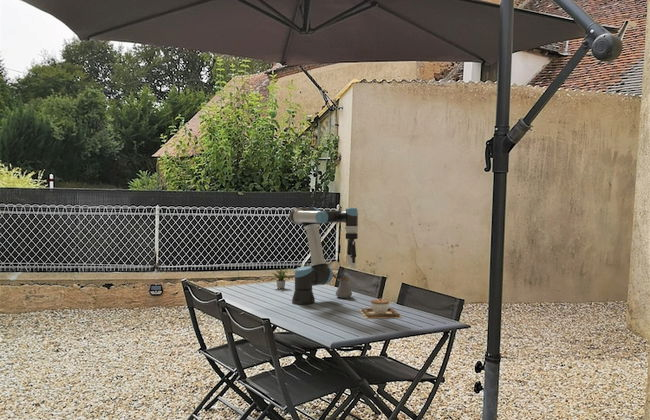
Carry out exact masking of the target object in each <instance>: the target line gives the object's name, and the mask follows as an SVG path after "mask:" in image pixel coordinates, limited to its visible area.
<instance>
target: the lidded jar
mask: <svg viewBox="0 0 650 420" xmlns="http://www.w3.org/2000/svg"><path fill="white" fill-rule="evenodd" d="M370 303H371V308H372V310H373V312H374V313H375V314H385V313H386V312H387V311H388V308H390V300H388V299H384V298H383V299H382V298H381V297H379V298H376V299H372V300H371V301H370Z"/></svg>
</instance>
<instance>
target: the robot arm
mask: <svg viewBox="0 0 650 420" xmlns="http://www.w3.org/2000/svg"><path fill="white" fill-rule="evenodd" d="M358 212H359V210H358V208H357V207H347V208H345V210H342V209H340V210H339V209H338V210H320V209H319V208H318V207H311V206H310V207H295V208H293V209H292V210H291V211H290V212H289V214H288V215H289V216H288V217H289V220H290V221H291V223H293V224H294V225H300V226H301V225H302V227H303V229H304V230H305V232H306V236H307V243H308V248H309V253H310V258H311V259H310V260H311V265H309V266H308V265H307V266H306V265H305V266H299V267H297V268H296V269H295V270H294V292H293V295H292V297H291V298H292V299H291V303H292V304H294V305H313V304H315V303H316V298H315V295H314V293H313V286H321V285H322V286H323V285H328V284H330V283H331V282H332V280H333V277H334V276H333V275H334V274H333V269H332V268H331V267H330V266H328V263H327V262H326V261H325V255H324V253H323V251H324V250H323V246H322V240H321V234H320V230H319V227H320V226H321V224H331V223H332V224H333V223H334V224H337V223H345V226H344V229H345V240H347V250H346V254H347V266H350V268H351V269H356V266H357V265H356V260H357V259H356V257H357V250H356V241H355V240H357V239H358V236H359V235H358V232H359V231H358V230H359V226H358V225H359V224H358V223H359V222H358V219H359V217H358V216H359V213H358Z"/></svg>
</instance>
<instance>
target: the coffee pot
mask: <svg viewBox="0 0 650 420" xmlns="http://www.w3.org/2000/svg"><path fill="white" fill-rule="evenodd" d="M333 277H334V279H335V280H337V281H338V282H339V284H338V287H337V290H336V292H335V296H337V298H338V297H340V298H339V299H342V298H346V299H349V298H350V297H352V295H353V292H352V289H351V287H350V286H349V283H348V282H349V278H338V277H337V276H336V275H335V274H333Z"/></svg>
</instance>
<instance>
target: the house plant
mask: <svg viewBox="0 0 650 420" xmlns="http://www.w3.org/2000/svg"><path fill="white" fill-rule="evenodd" d="M284 270H285V271H284ZM273 271H274V272H271V274H273V276H274V277H275V278H277V279H276V287H277V289H278V288H284V289H285V287H286V279H285V278H286V277H288V276H289V275H287V274H286V273H287V272H288V271H289V268H285V269H282V267H280V270H278V269H274V268H273ZM275 272H276V273H275Z"/></svg>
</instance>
